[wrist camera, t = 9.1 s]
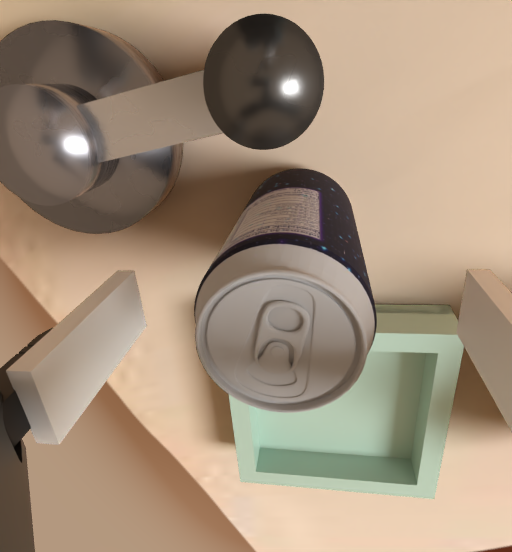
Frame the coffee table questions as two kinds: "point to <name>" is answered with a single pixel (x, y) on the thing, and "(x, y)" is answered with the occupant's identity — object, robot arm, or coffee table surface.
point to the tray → (366, 416)
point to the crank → (161, 112)
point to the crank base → (100, 83)
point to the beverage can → (288, 298)
